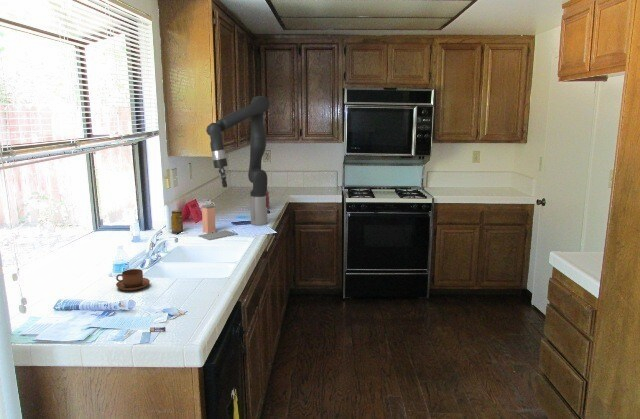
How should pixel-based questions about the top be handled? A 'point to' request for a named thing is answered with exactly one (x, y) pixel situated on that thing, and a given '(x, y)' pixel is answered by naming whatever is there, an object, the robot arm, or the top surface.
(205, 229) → the block
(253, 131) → the robot arm
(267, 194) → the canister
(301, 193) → the top surface
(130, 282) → the cup and saucer
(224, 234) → the mat
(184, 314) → the top surface
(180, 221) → the condiment
